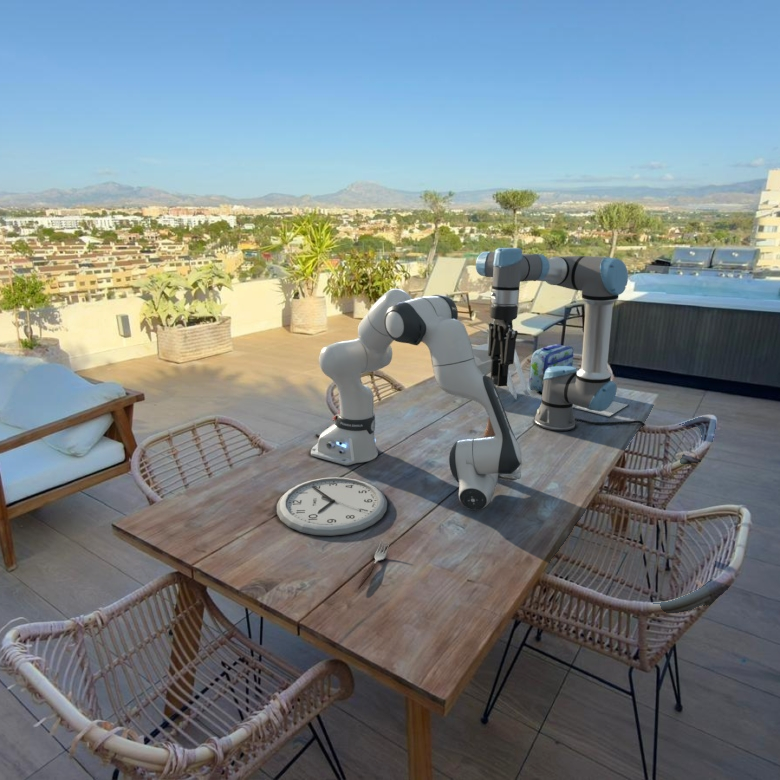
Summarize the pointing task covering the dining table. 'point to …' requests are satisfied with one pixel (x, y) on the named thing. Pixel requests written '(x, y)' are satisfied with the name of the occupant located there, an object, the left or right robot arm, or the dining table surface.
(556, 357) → the lunch box
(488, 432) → the bottle
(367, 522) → the wall clock
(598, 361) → the right robot arm
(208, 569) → the dining table surface
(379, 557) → the fork
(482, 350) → the white plastic object
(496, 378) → the cap
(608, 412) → the invitation card
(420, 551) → the dining table surface
